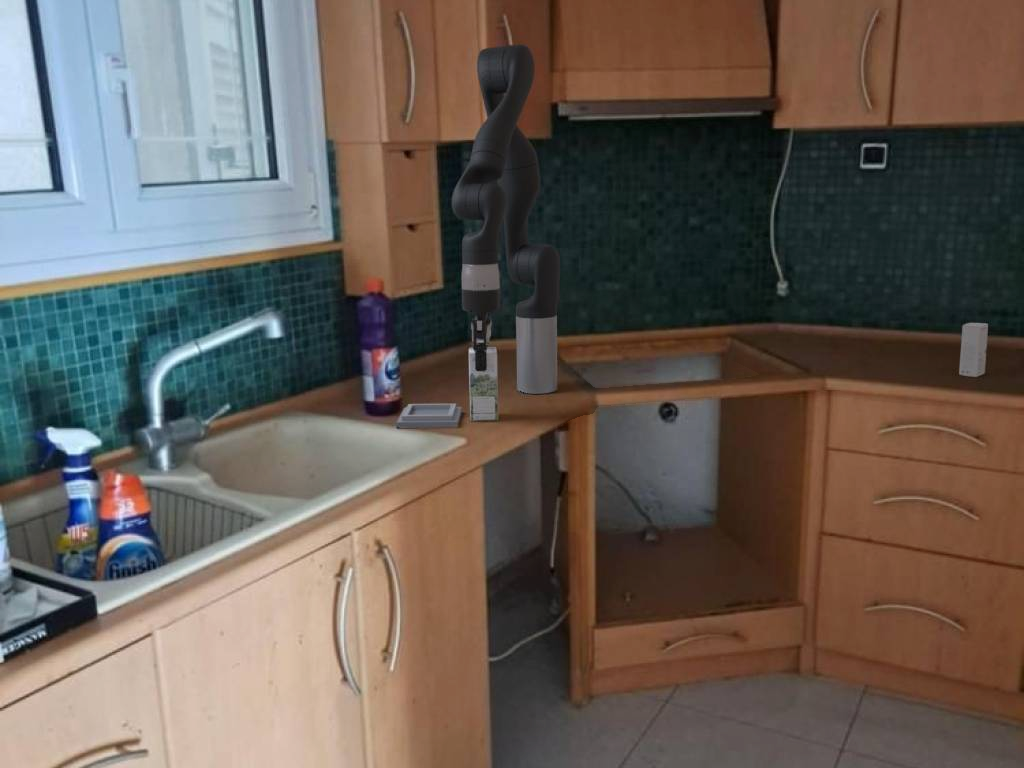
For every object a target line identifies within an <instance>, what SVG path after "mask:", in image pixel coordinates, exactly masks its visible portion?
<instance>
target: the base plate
mask: <svg viewBox="0 0 1024 768" xmlns="http://www.w3.org/2000/svg"><path fill="white" fill-rule="evenodd" d="M462 409H463V408H462V406H457V403H455V402H454V403H408V404H407V406H406V407H404V408H403V409H402V411H401V413H400V415H399V416H398V418H397V420H396V422H395V423H396V428H397V427H408V428H407V429H443V428H445V429H447V428H448V429H449V428H450V429H451V428H453V429H455V428H456V429H458V427H459V423H460V420H461V416H462V413H463V412H462Z"/></svg>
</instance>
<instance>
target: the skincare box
mask: <svg viewBox="0 0 1024 768" xmlns="http://www.w3.org/2000/svg"><path fill="white" fill-rule="evenodd" d="M961 330H962V331H961V344H960V357H959V369H958V375H960V376H963V377H964V376H965V377H970V378H971V377H973V378H977V377H981V376H982V375H984V374H985V373H986V364H987V363H986V360H987V359H986V358H987V350H988V349H987V348H988V347H987V346H988V345H987V344H988V333H989V331H988V330H989V324H988V323H985V322H984V323H983V322H968V323H965V324H963V325H962V329H961Z"/></svg>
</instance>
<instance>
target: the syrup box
mask: <svg viewBox="0 0 1024 768" xmlns="http://www.w3.org/2000/svg"><path fill="white" fill-rule="evenodd" d="M487 349H488V350H487V352H486V356H487V369H486V371H476V370H475V352H474V349H473V346H472V347H468V379H469V381H468V382H469V385H468V386H469V414H470V415H469V417H470V422H497V421H499V395H498V391H499V390H498V383H499V382H498V381H499V380H498V353H497V352H498V351H497V347H496V346H488V347H487Z"/></svg>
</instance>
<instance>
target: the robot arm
mask: <svg viewBox="0 0 1024 768" xmlns="http://www.w3.org/2000/svg"><path fill="white" fill-rule="evenodd" d="M476 70H477V79H478V84H479V88H480V93H481V97H482V100H483V101H482V102H483V105H484V108H485V112H486V113H485V114H486V117H487V118H486V119H485V121H484V122H483V123H482V125H481V126H480V128H479V130H478V131H477V133H476V135H475V138H474V141H473V145H472V150H471V155H470V158H469V163H468V165H467V166H466V168H465V170H464V171H463V173H462V175H461V177H460V178H459V180H458V182H457V183H456V186H455V187H454V189H453V192H452V196H451V209H452V211H453V214H454V215H455V216H456V217H457V219H459V220H461V221H484V224H483V227H482V228H481V229H480V230H478V231H475V232H470V233H467V234H465V235H464V236H463V237H462V241H461V247H462V248H461V250H462V252H461V255H462V257H461V258H462V269H461V303H462V304H461V307H462V310H463V311H464V312H468V313H473V314H474V318H472V319H471V321H470V327H471V328H470V329H471V340H472V343H473V346H472V347H473V349H474V352H475V370H476V371H486V369H487V356H486V352H487V350H488V349H487V347H489V344H490V343H491V342H490V341H491V340H490V338H491V337H492V318H490V315H491V314H490V312H492V313H493V312H497V311H499V310H500V308H501V295H500V293H501V291H500V290H501V289H500V288H501V285H500V284H501V282H500V279H501V278H500V269H499V268H500V267H499V239H500V238H499V237H500V233H501V229H502V224H503V226H504V228H503V229H504V239H505V242H504V243H505V255H506V256H505V257H506V265H507V266H506V268H507V270H508V272H507V273H508V275H509V277H510V280H511V281H512V282H513V283H515V284H517V285H521V286H534V292H533V295H532V296H531V297H529V298H528V299H524V300H522V301H519V302H517V304H515V329H516V332H515V333H516V336H515V337H516V390H517V391H518V392H520V391H521V392H520V393H523V392H524V394H532V395H533V394H535V395H536V394H548V393H549V394H550V393H554V392H556V391H557V390H558V328H557V327H558V325H557V323H558V321H557V320H558V318H557V315H558V314H557V313H558V311H557V309H558V303H559V300H560V299H559V298H560V281H561V280H560V277H561V260H560V254H559V251H558V249H557V248H556V247H555V246H554V245H552V244H545V243H544V244H542V243H541V244H538V243H537V244H536V243H530V242H529V237H528V220H529V219H528V218H529V216H530V213H531V211H532V208H533V206H534V203H535V202H536V199H537V197H538V194H539V191H540V188H541V174H540V168H539V160H538V155H537V152H536V150H535V148H534V146H533V144H532V143H531V142H530V140H529V139H528V138H527V136H526V135H525V134H524V132H522V130H521V129H520V127H518V125H517V124H518V121H519V119H520V117H521V114H522V112H523V109H524V107H525V104H526V101H527V99H528V96H529V94H530V91H531V89H532V87H533V84H534V79H535V72H536V71H535V70H536V67H535V60H534V56H533V54H532V51H531V49H530V48H529V47H528V46H527V45H525V44H509V45H500V46H494V47H486V48H483V49H481V50H480V51H479V53H478V55H477V59H476ZM496 181H497V183H493V182H496Z"/></svg>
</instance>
